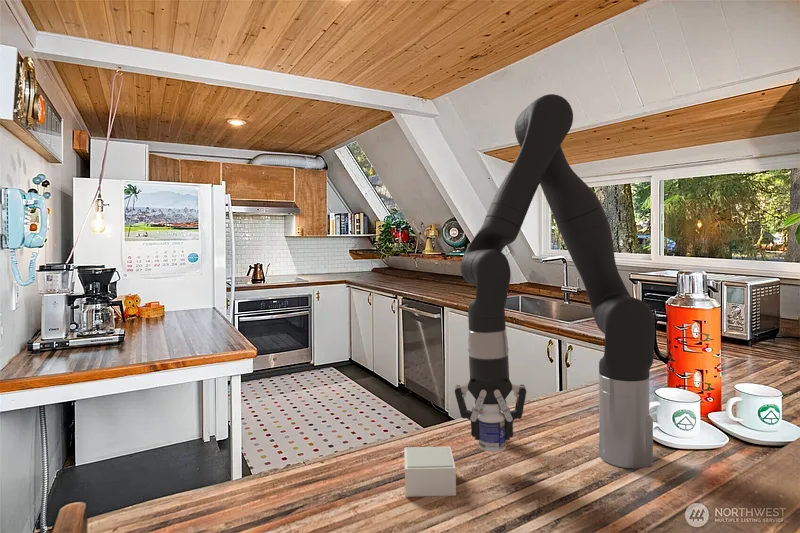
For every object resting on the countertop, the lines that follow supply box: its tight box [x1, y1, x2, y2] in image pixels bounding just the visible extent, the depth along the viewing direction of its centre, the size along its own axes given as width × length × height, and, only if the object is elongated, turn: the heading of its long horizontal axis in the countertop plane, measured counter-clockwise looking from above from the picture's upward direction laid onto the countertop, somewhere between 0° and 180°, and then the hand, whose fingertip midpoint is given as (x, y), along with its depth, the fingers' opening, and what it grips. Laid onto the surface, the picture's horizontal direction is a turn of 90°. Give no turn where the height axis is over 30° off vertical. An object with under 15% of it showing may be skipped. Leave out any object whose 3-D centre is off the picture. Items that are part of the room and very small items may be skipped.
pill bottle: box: [477, 404, 507, 453], centre depth 94 cm, size 5×5×9 cm
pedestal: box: [403, 446, 457, 498], centre depth 90 cm, size 9×9×5 cm
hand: (492, 438), depth 95 cm, fingers closed on pill bottle, 5 cm apart
